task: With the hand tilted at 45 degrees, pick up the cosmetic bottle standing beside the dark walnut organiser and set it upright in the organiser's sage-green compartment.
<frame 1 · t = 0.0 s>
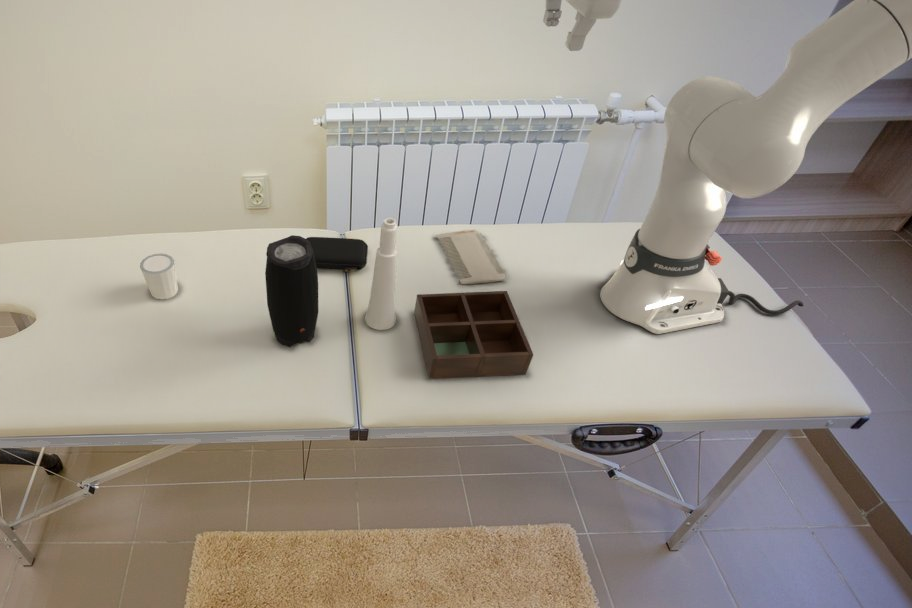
hand: (560, 36, 77), 48 cm above the table, tool pointing down, fingers open, 8 cm apart
carrying case: (333, 261, 125), on the table
organiser: (466, 343, 107), on the table
grooming comb: (469, 258, 125), on the table
cosmetic bottle: (380, 320, 112), on the table
shot glass: (164, 291, 119), on the table
portable speaker: (294, 335, 110), on the table
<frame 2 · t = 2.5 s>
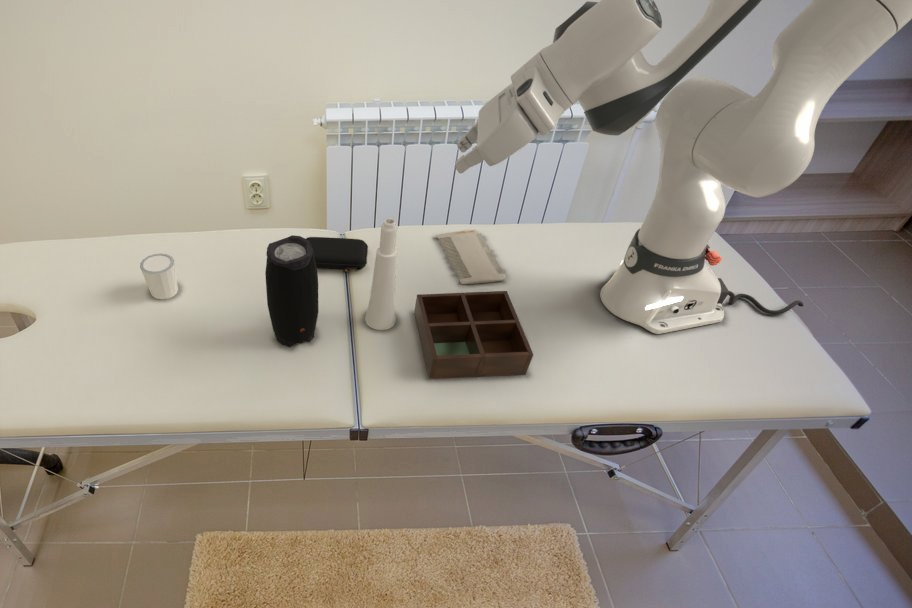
hand: (458, 158, 91), 31 cm above the table, tool tilted 45°, fingers open, 8 cm apart
nothing on the table moved.
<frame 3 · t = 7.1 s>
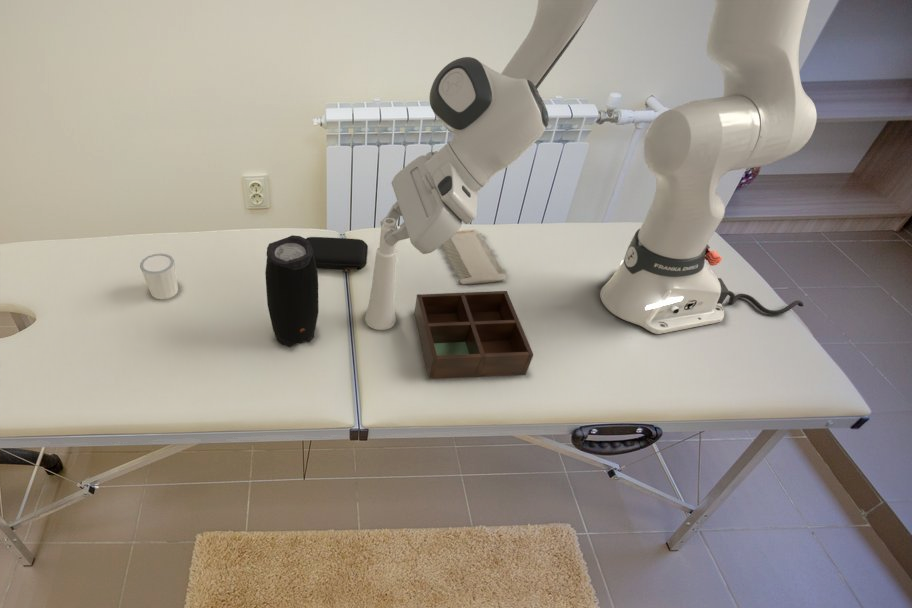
hand: (385, 235, 97), 19 cm above the table, tool tilted 45°, fingers closed on cosmetic bottle, 3 cm apart
cosmetic bottle: (380, 320, 112), on the table, touching gripper
everything else where it was.
when the fingers open (20 cm above the table, at t = 15.0 s): cosmetic bottle stays where it is, resting on organiser.
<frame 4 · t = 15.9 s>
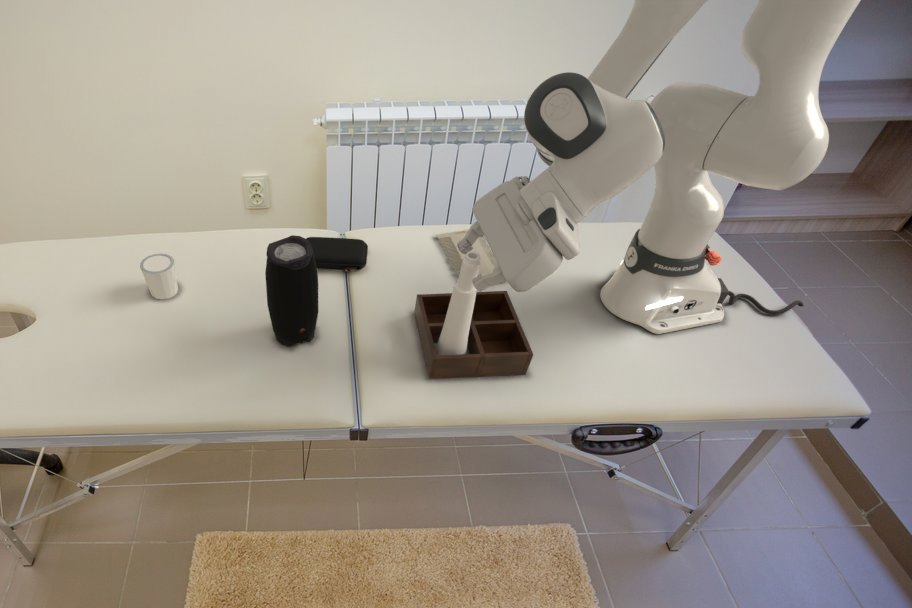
hand: (467, 267, 89), 21 cm above the table, tool tilted 45°, fingers open, 8 cm apart
cosmetic bottle: (449, 357, 104), point 1 cm above the table, touching organiser
everything else where it was.
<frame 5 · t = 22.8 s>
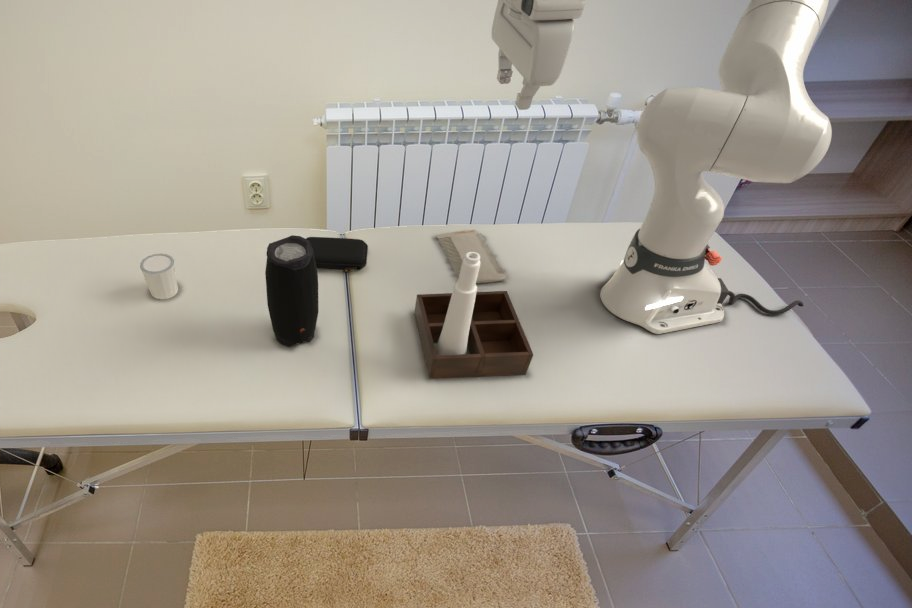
hand: (512, 94, 86), 39 cm above the table, tool pointing down, fingers open, 8 cm apart
nothing on the table moved.
at the end: cosmetic bottle 0.2 cm from the target spot in the organiser, point 0.6 cm above the organiser's base; cosmetic bottle tilted 0°; the gripper is holding nothing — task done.
